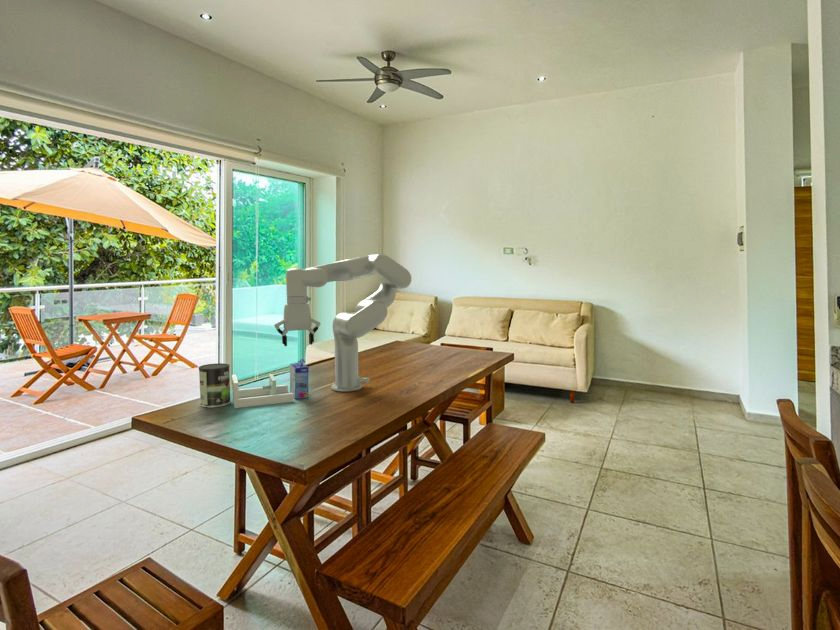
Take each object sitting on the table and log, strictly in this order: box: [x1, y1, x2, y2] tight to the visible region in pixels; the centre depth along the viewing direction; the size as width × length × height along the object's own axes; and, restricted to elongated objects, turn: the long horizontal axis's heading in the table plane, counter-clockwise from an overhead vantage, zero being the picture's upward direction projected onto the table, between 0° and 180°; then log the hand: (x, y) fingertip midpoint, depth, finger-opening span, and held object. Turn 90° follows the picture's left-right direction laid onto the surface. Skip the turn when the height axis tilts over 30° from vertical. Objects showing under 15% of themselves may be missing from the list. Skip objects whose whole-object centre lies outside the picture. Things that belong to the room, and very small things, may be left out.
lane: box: [231, 374, 294, 409], centre depth 174 cm, size 20×14×9 cm
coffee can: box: [198, 362, 231, 409], centre depth 168 cm, size 10×10×14 cm
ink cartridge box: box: [289, 358, 310, 400], centre depth 179 cm, size 10×6×14 cm, turn 27°
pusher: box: [262, 373, 277, 395], centre depth 175 cm, size 4×11×8 cm, turn 25°
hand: (298, 344), depth 178 cm, fingers open, 9 cm apart
